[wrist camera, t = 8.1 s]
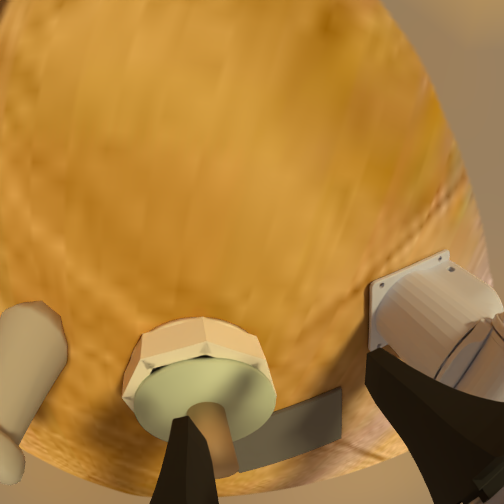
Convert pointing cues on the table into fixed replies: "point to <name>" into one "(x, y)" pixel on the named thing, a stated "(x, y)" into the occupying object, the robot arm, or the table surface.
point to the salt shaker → (25, 375)
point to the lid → (207, 403)
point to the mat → (292, 432)
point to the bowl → (190, 349)
